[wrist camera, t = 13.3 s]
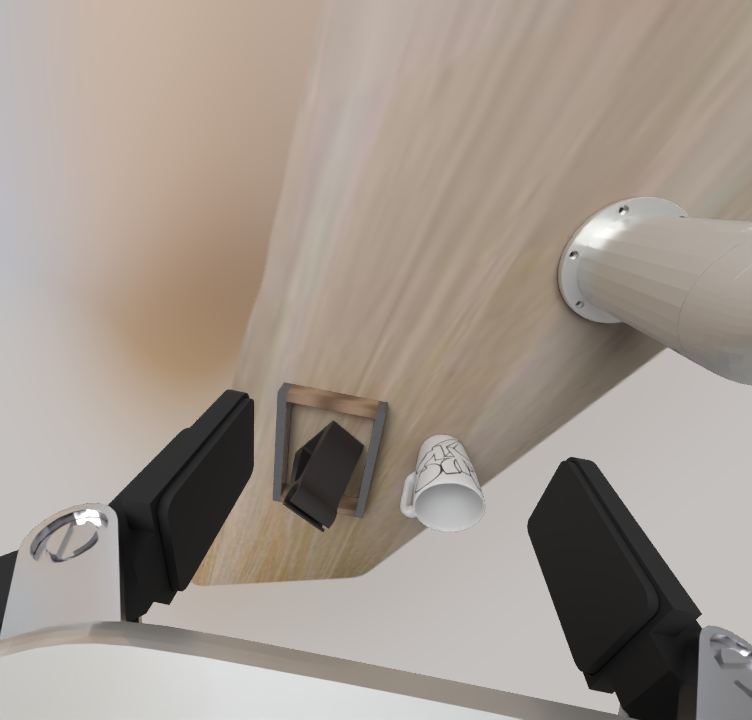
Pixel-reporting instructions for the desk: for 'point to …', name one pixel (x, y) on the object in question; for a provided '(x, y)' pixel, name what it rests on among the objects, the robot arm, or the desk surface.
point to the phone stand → (322, 475)
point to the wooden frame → (335, 403)
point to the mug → (443, 487)
